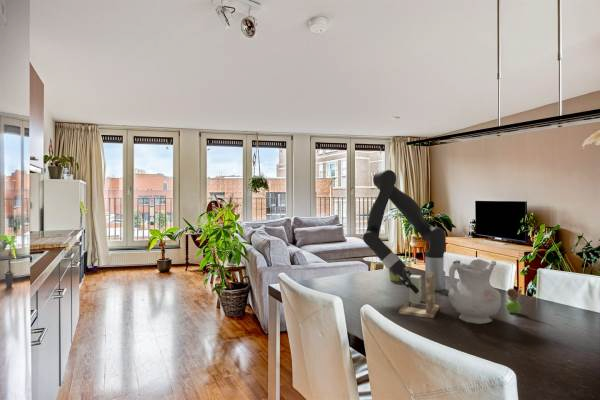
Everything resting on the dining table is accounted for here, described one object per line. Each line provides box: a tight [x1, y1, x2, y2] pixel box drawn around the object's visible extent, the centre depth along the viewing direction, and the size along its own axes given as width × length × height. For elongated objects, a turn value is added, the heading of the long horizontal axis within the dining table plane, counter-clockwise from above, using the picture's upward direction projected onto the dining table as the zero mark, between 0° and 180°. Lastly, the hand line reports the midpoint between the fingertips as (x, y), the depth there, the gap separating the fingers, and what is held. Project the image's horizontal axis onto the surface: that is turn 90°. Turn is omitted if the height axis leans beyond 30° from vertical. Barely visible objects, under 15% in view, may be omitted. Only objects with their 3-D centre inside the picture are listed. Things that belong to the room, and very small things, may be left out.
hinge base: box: [398, 272, 440, 319], centre depth 161 cm, size 14×16×16 cm
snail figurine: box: [505, 286, 523, 314], centre depth 156 cm, size 5×6×12 cm
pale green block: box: [408, 274, 422, 303], centre depth 175 cm, size 4×6×12 cm
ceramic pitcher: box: [448, 258, 502, 325], centre depth 149 cm, size 22×19×25 cm
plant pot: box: [388, 269, 401, 282], centre depth 218 cm, size 9×9×9 cm
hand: (419, 290), depth 174 cm, fingers closed on pale green block, 5 cm apart
